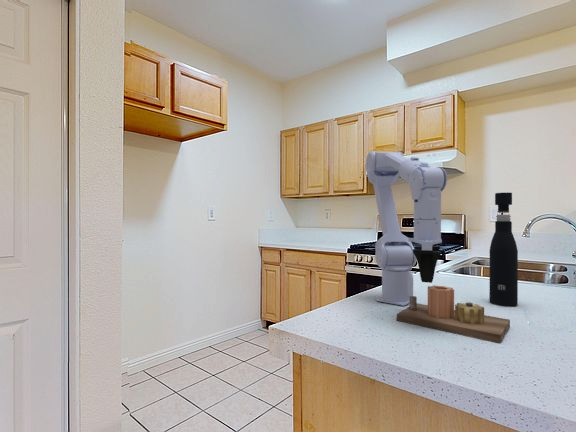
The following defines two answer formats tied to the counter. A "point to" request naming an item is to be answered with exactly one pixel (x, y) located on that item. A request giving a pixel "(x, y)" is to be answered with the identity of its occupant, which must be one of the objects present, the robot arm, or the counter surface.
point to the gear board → (458, 320)
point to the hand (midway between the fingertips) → (426, 278)
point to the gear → (441, 301)
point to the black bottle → (503, 257)
